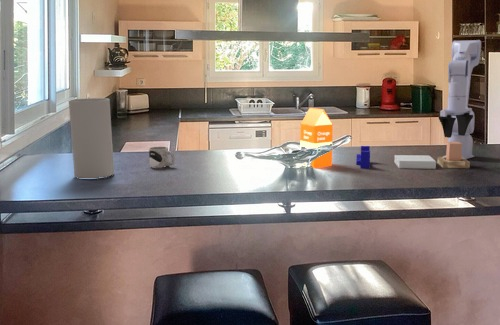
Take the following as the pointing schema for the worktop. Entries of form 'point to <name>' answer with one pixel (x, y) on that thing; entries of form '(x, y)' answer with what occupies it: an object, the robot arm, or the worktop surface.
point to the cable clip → (364, 157)
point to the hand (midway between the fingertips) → (454, 136)
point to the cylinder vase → (91, 137)
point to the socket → (453, 163)
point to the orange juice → (317, 134)
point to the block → (453, 151)
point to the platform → (415, 161)
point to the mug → (160, 157)
